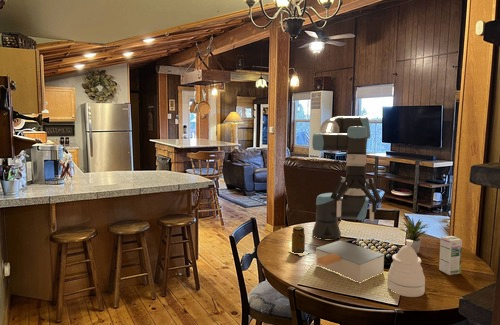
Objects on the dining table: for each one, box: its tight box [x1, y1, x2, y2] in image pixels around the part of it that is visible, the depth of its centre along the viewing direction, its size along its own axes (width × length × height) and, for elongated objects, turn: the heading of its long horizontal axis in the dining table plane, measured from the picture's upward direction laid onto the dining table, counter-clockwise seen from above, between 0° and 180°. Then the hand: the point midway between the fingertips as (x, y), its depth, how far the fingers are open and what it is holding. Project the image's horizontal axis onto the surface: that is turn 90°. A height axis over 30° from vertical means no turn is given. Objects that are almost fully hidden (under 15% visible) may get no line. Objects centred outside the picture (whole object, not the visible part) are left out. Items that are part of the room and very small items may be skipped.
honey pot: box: [386, 240, 426, 298], centre depth 137 cm, size 13×13×18 cm
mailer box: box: [315, 250, 385, 282], centre depth 155 cm, size 22×16×8 cm
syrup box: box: [438, 235, 463, 276], centre depth 152 cm, size 6×6×14 cm
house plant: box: [399, 217, 429, 254], centre depth 175 cm, size 14×14×16 cm
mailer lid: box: [315, 239, 385, 266], centre depth 152 cm, size 22×25×2 cm
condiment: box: [291, 226, 306, 253], centre depth 175 cm, size 7×8×12 cm
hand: (354, 218), depth 148 cm, fingers open, 13 cm apart
